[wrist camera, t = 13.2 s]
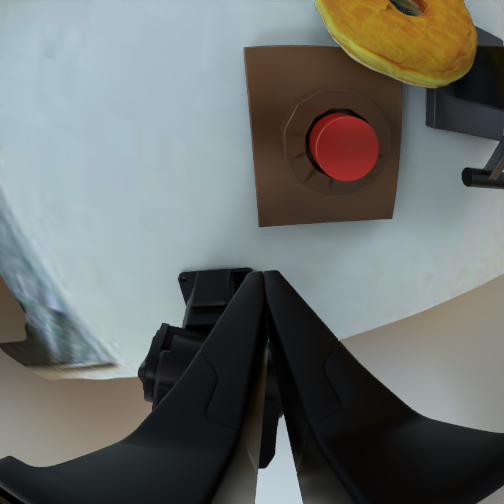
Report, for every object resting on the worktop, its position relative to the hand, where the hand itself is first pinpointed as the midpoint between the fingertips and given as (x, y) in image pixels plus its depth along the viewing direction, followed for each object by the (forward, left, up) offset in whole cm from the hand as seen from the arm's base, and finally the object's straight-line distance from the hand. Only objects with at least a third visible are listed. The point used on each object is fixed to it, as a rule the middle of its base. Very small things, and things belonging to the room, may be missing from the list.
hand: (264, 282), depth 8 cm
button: (+2, -5, -9) cm, 11 cm away
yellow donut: (+12, -9, -8) cm, 17 cm away
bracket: (+8, -18, -13) cm, 24 cm away
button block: (+2, -5, -13) cm, 14 cm away
